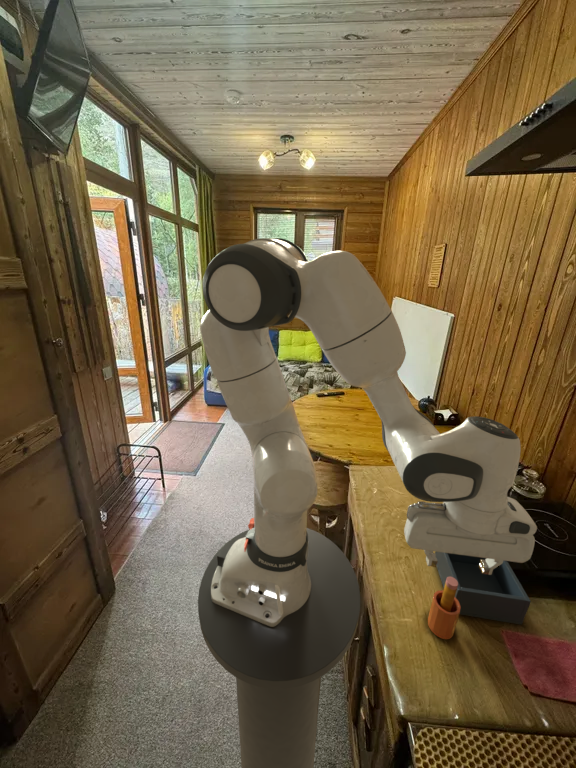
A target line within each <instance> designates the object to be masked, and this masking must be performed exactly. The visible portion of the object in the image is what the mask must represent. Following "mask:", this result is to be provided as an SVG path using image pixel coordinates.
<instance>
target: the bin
mask: <svg viewBox="0 0 576 768" xmlns="http://www.w3.org/2000/svg"><path fill="white" fill-rule="evenodd" d="M434 553H435V555H436V558H437V561H438V562H437V564H436V565H437V566H436V567H435V568H436V570H437V573H438V575H439V578H440V582H441V585H442V587H443V589H444V587H445V583H446V579H447V577H453V578H455V579H456V580H457V582H458V587H457V590H456V594H455V598H456V599H457V600H458V601H459V604H460V606H461V609H460V614H459V615H461V616H467V617H474V618H479V619H486V620H492V621H498V622H503V623H509V624H515V625H520V626H522V625H523V622H524V620H525V617H526V616H527V614H528V610H529V608H530V605H531V599H530V597H529V595H528V594H527V592H526V590H525V589H524V587H523V585H522V583H521V581H519V578H518V577H517V575H516V574H515V572H514V570H513V568H512V567H511V565H510V563H509V561H503V563H502V564H501V565H499V568H497V567H496V568H495V569H493V572H492V575H489V574H482V572H481V570H480V568H479V564H480V560H481V559H482V560H485V559H486V558H482V557H474V556H466V555H459V554H451V553H444V552H436V551H434Z"/></svg>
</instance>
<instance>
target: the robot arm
mask: <svg viewBox="0 0 576 768" xmlns="http://www.w3.org/2000/svg"><path fill="white" fill-rule="evenodd" d="M202 295H203V299H204V302H205V304H206V307H207V308H208V310H207V311H206V312H205V314H204V315H203V316H202V318H201V319H200V324H199V330H200V335H201V339H202V344H203V348H204V352H205V354H206V359H207V361H208V364H209V367H210V370H211V372H212V375H213V377H214V379H215V381H216V384H217V386H218V389H219V391H220V393H221V396H222V398H223V400H224V402H225V405H226V407H227V409H228V411H229V413H230V416H231V418H232V420H233V421H234V422H235V423H237V424H238V426H239V427H240V429H241V430H242V432H243V433H244V436H245V437H246V439H247V441H248V444H249V447H250V452H251V457H252V469H253V471H252V472H253V517H252V518H250V519H249V523H248V525H247V527H248V530H249V529H250V530H249V531H248V532H247V535H246V537H244V538H241V539H238V540H237V541H236V542H235V543H234V544H233V545H232V544H228V543H227V542H225V543H224V544H223V545H222V547H223V548H222V549H221V551H220V552H219V554H218V555H217V561H218V566H217V569H216V571H215V574H214V576H213V580H212V584H211V599H212V602H214V603H215V604H218V605H220V606H222V607H225V608H227V609H229V610H232V611H234V612H237V613H239V614H241V615H244V616H246V617H248V618H251V619H253V620H256V621H258V622H260V623H263V624H265V625H268V626H270V627H274V626H276V625H277V624H279V623H280V622H281V620H282V619H283V618H284V617H285V616H287V615H289V614H291V613H293V612H295V611H297V610H298V609H299V608H301V607H302V606H303V605H304V603H305V602H306V601H307V599H308V597H309V595H310V591H311V579H310V576H309V573H308V569H307V562H306V561H307V557H308V534H307V531H306V529H307V528H308V510H309V509H310V508H311V507H312V506H313V505H314V503H315V501H316V499H317V496H318V475H317V468H316V465H315V462H314V460H313V457H312V454H311V452H310V449H309V446H308V444H307V441H306V439H305V436H304V433H303V430H302V427H301V425H300V422H299V419H298V415H297V413H296V410H295V407H294V404H293V401H292V398H291V394H290V391H289V389H288V386H287V383H286V380H285V378H284V375H283V372H282V368H281V366H280V363H279V360H278V358H277V355H276V351H275V349H274V346H273V344H272V341H271V336H270V331H269V330H270V329H269V328H271V327H276V326H282V325H286V324H287V325H288V324H290V323H292V322H293V320H294V319H295V318H296V319H298V320H300V321H302V322H303V323H304V324H305V325H306V326H307V328H308V329H309V330H310V333H312V335H313V336H314V338H315V340H316V342H317V344H318V345H319V347H320V350H321V351H322V353H323V355H324V356H325V358H326V359H327V361H328V362H329V363H330V366H332V368H333V369H334V370H335V371H336V373H337V374H338V375H339V376H340V378H341V379H342V380H343V381H344V382H345V383H346V384H347V385H349V386H351V387H355V388H361V389H362V390H363V391H364V393H365V394H366V395H367V397H368V399H369V401H370V402H371V404H372V406H373V409H375V411H376V413H377V415H378V417H379V419H380V421H381V437H382V441H383V445H384V447H385V449H386V451H387V452H388V454H389V456H390V458H391V460H392V463H393V465H394V466H395V469H396V471H397V473H398V475H399V478H400V479H401V482H402V483H403V487H404V488H405V489H406V491H407V493H409V494H410V495H412V496H413V497H414V498H416V499H418V501H416V502H414V503H412V504H410V505H408V506H407V511H406V521H405V524H404V529H403V535H404V539H405V542H406V544H407V545H408V547H409V548H411V549H415V550H422V551H423V552H424V554H425V562H426V565H427V567H430V568H431V567H432V568H437V567H436V566H437V565H436V564H437V562H438V561H437V558H436V555H435V551H436V552H444V553H451V554H459V555H466V556H474V557H482V558H486V559H485V560H482V559H481V560H480V564H479V568H480V570H481V572H482V574H489V575H492V572H493V569H495V568H496V567H498V566H499V565H501V564H502V563H503V561H507V562H513V563H519V564H523V563H526V562H528V561H529V560H531V558H532V555H533V552H534V548H535V544H536V543H535V542H536V539H535V536H534V535H536V532H537V529H538V526H537V524H536V523H535V521H534V519H533V518H532V517H531V516H530V514H529V512H528V511H527V510H526V509H525V508H524V507H523V505H522V504H520V503H519V501H518V500H516V499H515V498H512V497H509V496H508V493H509V490H510V489H511V488H512V486H513V485H514V483H515V480H516V476H517V473H518V469H519V465H520V459H521V451H522V450H521V439H520V437H519V436H518V435H517V434H516V432H514V431H513V430H512V429H510V428H509V427H508V426H506V425H505V424H503V423H501V422H498V421H496V420H494V419H492V418H489V417H483V416H476V415H475V416H468V417H467V418H465V420H464V421H462V423H461V424H459V425H457V426H456V427H454V428H452V429H450V430H447V431H444V432H442V433H440V432H439V431H438V430H437V427H436V426H435V424H434V423H433V422H432V420H431V419H430V418H429V417H428V416H426V415H425V414H424V413H423V412H421V411H420V410H418V409H417V408H415V406H414V405H413V403H412V402H411V399H410V397H409V395H408V394H407V391H406V389H405V387H404V385H403V383H402V382H401V379H400V377H399V373H398V371H399V370H400V369H401V367H402V365H403V364H404V362H405V359H406V354H407V351H406V347H405V343H404V339H403V335H402V332H401V329H400V326H399V324H398V321H397V319H396V316H395V314H394V313H393V311H392V309H391V307H390V304H389V303H388V301H387V298H386V297H385V296H384V294H383V292H382V290H381V288H380V287H379V286H378V284H377V283H376V281H375V279H374V278H373V276H372V275H371V274H370V272H369V271H368V270H367V268H366V267H365V266H364V265H363V263H362V262H361V261H360V260H359V258H358V257H356V255H354V254H353V253H351V252H349V251H346V250H334V251H329V252H325V253H323V254H321V255H319V256H316V258H314V259H312V260H308V258H307V256H306V254H305V252H304V251H303V250H302V249H301V248H300V247H299V246H298V245H297V244H296V243H294V242H293V241H291V240H288V239H286V238H281V237H275V238H274V237H273V238H269V237H263V238H262V237H261V238H254V239H251V240H249V241H247V242H244V243H237V244H234V245H230V246H229V247H227V248H225V249H223V250H221V251H220V252H219V253H218V254H216V255H215V257H213V258H212V259H211V260H210V262H209V263H208V265H207V267H206V269H205V270H204V275H203V278H202ZM214 588H217V589H214ZM266 616H269V618H266Z"/></svg>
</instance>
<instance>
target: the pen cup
mask: <svg viewBox="0 0 576 768" xmlns="http://www.w3.org/2000/svg"><path fill="white" fill-rule="evenodd" d="M443 591H444V589H442V590H441V589H439V590H437V591H435V592H433V596H432V599H431V600H432V601H431V604H430V609H429V613H428V617H427V625H428V628H429V629H430V631H431V632H432V633H433V634H434V635H435V636H436V637H438V638H440V639H442V640H449V639H452V637H453V636H454V634H455V630H456V627H457V624H458V620H459V617H460V615H461V614H460V609H461V606H460V604H459V601H458V600H457V599H456V598H454V601H453V605H452V608H451V612H448V611H445V610H444V609H442V608H441V607H440V602H441V598H442V594H443Z"/></svg>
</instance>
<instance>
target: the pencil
mask: <svg viewBox="0 0 576 768" xmlns="http://www.w3.org/2000/svg"><path fill="white" fill-rule="evenodd" d="M457 587H458V582H457V580H456V579H455V578H453V577H447V579H446V583H445V587H444V588H443V594H442V598H441V602H440V607H441V608H442V609H444V610H445V611H448V612H451V608H452V605H453V601H454V598H455V594H456V590H457Z"/></svg>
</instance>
